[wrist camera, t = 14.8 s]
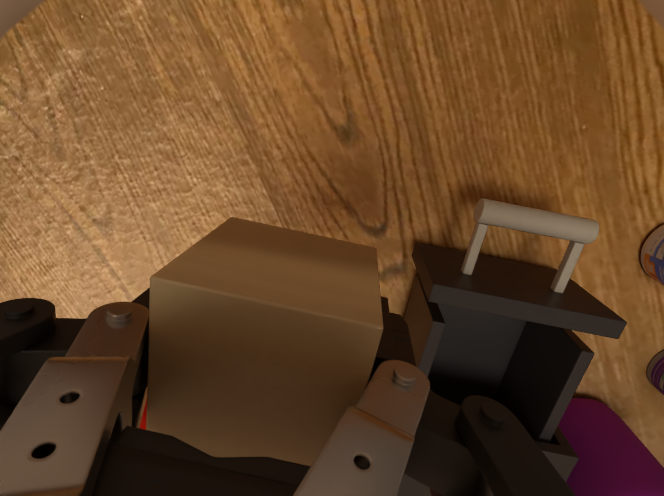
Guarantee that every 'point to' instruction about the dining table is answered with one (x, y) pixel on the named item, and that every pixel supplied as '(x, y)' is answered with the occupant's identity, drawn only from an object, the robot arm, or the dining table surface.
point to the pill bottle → (654, 255)
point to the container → (657, 372)
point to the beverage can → (608, 454)
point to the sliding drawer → (507, 319)
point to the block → (261, 340)
